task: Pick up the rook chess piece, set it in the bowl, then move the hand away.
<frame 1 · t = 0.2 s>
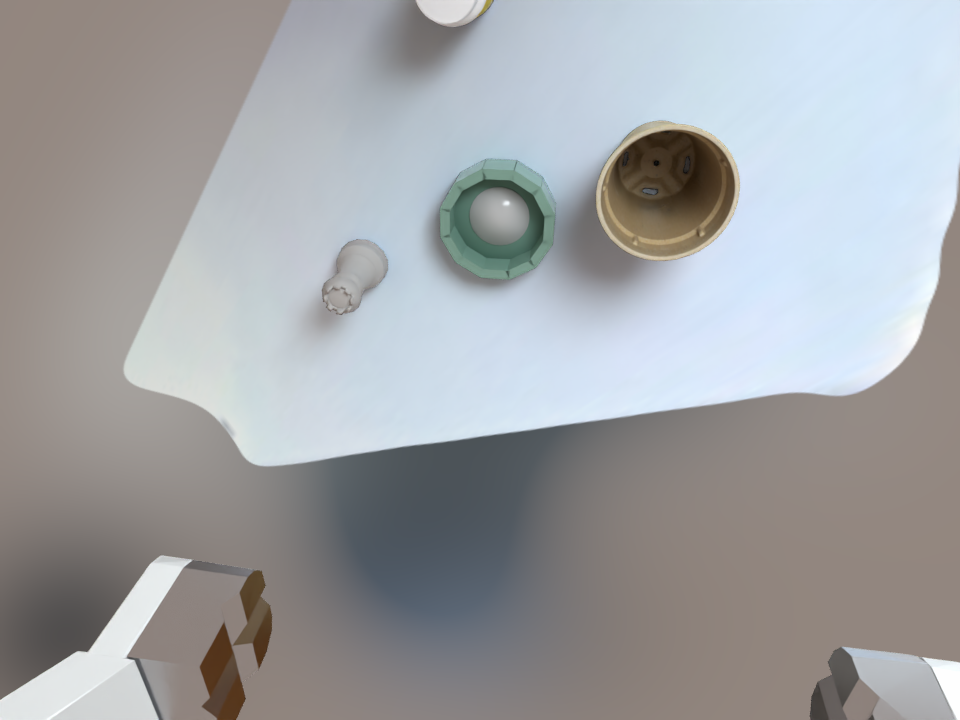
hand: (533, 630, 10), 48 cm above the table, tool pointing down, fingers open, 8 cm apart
rook chess piece: (365, 259, 61), on the table
bowl: (500, 214, 56), on the table
flower pot: (654, 160, 53), on the table
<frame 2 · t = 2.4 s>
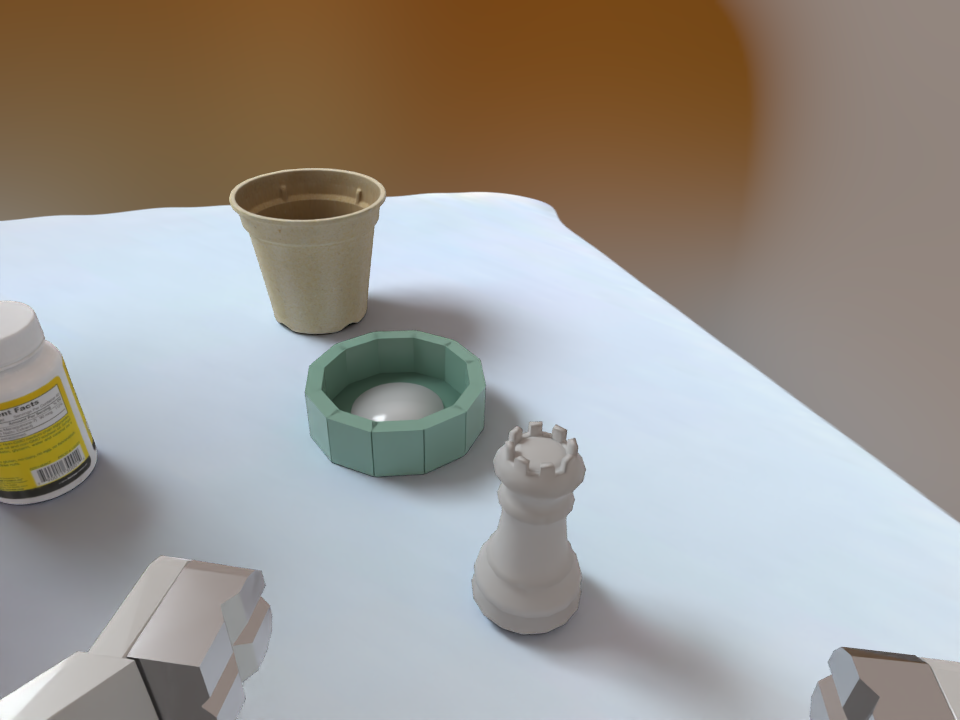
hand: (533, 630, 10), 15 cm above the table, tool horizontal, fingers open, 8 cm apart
supplement bottle: (46, 475, 33), on the table
rook chess piece: (524, 596, 28), on the table
bowl: (398, 417, 37), on the table
flower pot: (322, 316, 46), on the table
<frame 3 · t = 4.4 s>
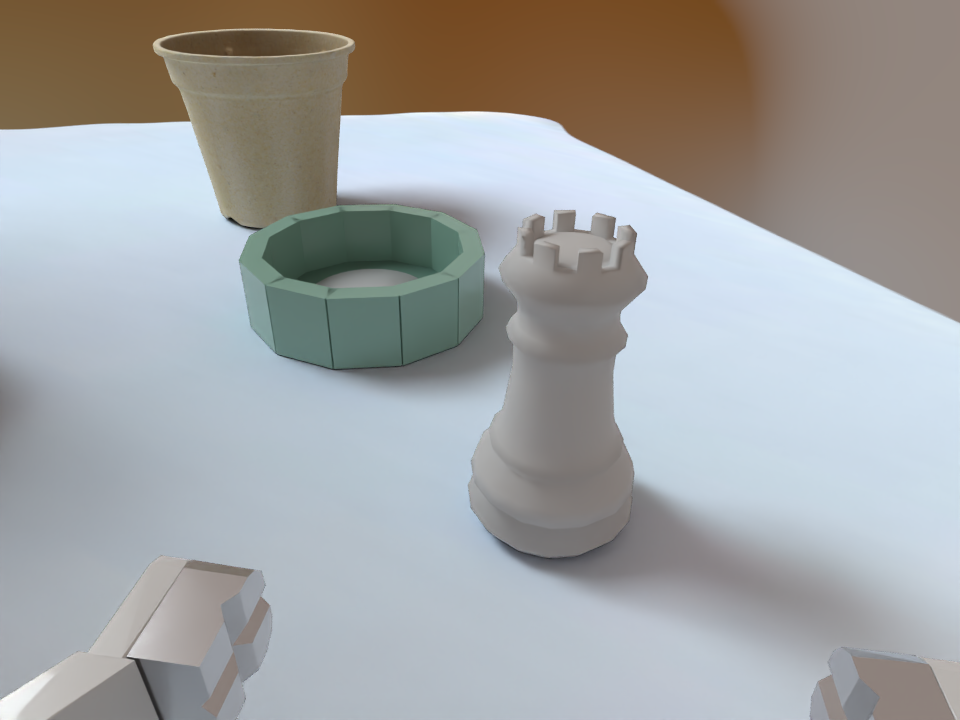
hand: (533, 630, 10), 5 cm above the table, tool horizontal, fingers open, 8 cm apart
rook chess piece: (547, 509, 19), on the table
bowl: (369, 307, 28), on the table
flower pot: (281, 214, 38), on the table
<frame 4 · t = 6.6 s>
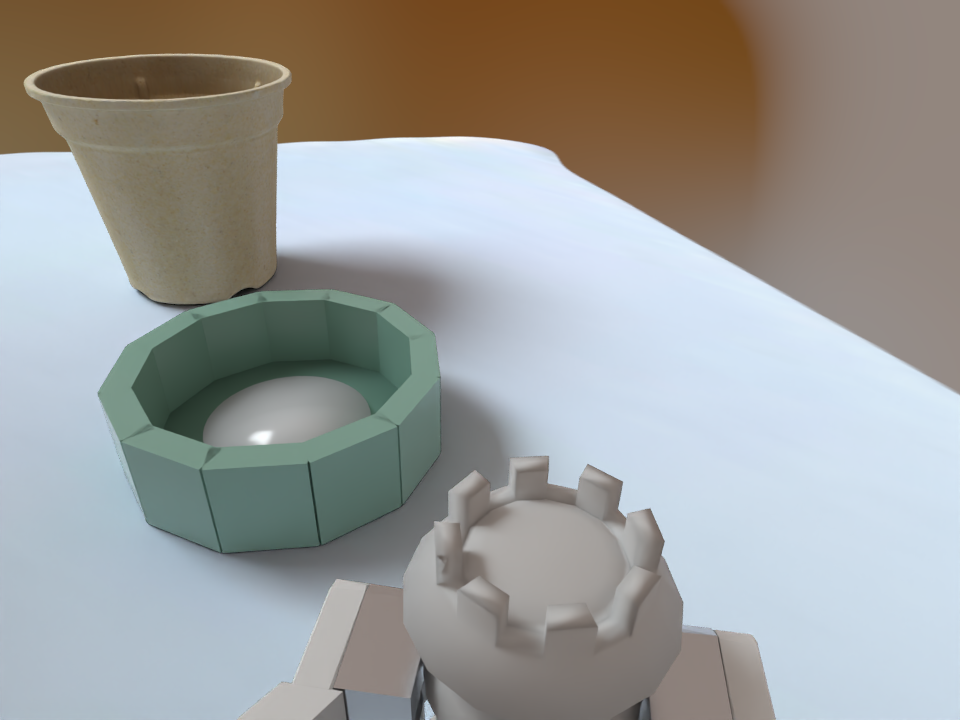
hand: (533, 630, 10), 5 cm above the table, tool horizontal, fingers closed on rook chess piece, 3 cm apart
bowl: (291, 436, 21), on the table
flower pot: (208, 280, 31), on the table
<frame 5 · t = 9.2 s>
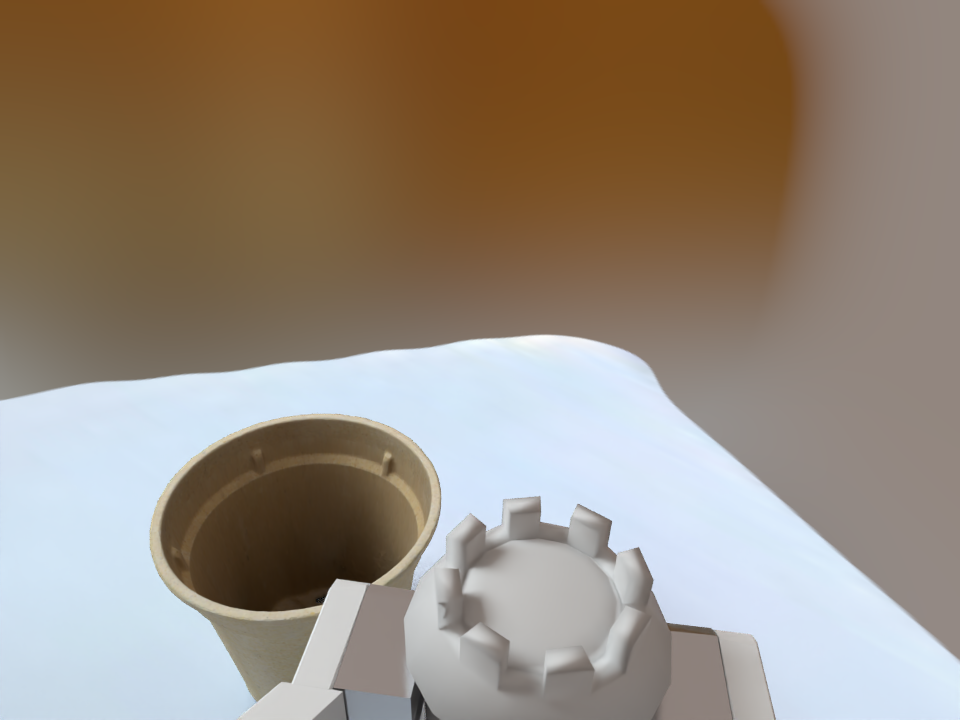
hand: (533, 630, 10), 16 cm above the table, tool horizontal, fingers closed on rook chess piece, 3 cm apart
flower pot: (326, 656, 27), on the table
when the fingers open (6 cm above the table, at t = 11.6 s): rook chess piece moves 1 cm, resting on bowl.
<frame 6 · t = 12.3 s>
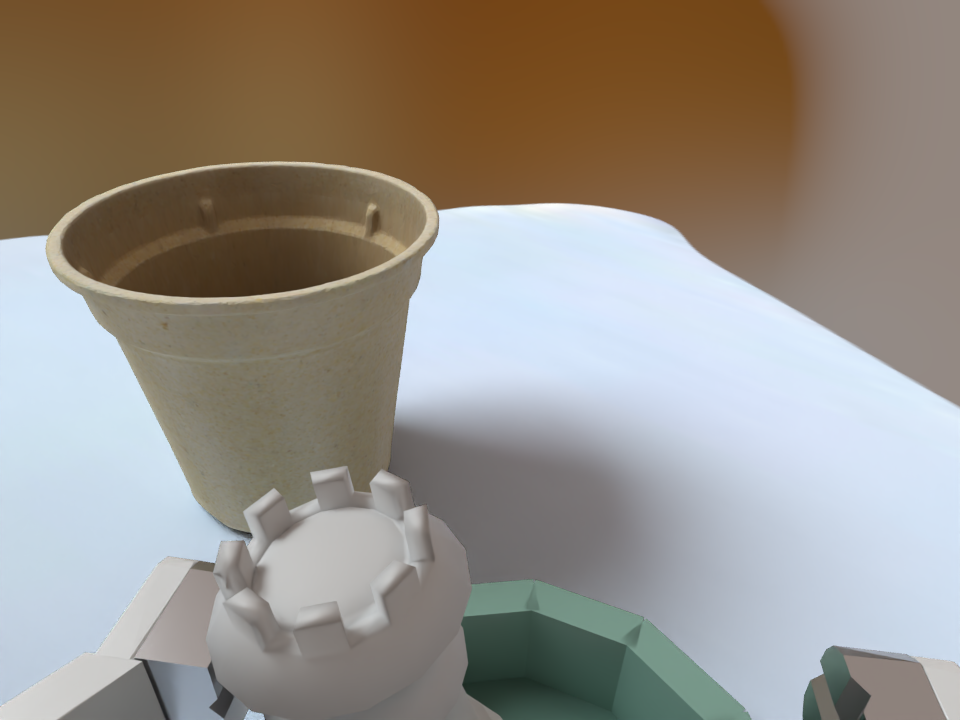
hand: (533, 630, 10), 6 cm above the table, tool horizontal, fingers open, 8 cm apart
flower pot: (296, 473, 22), on the table
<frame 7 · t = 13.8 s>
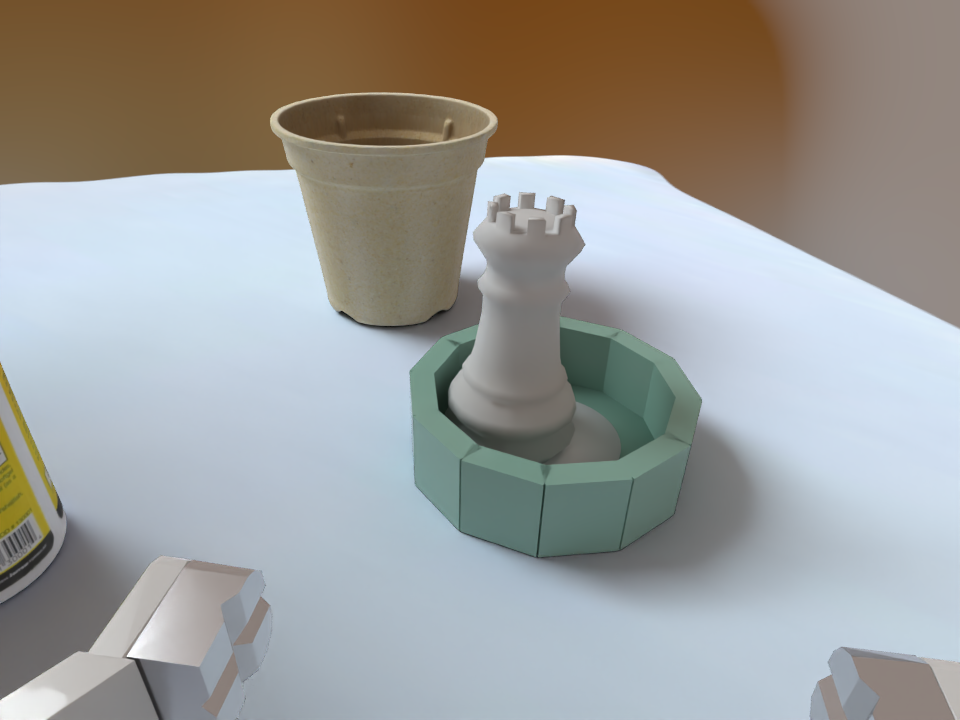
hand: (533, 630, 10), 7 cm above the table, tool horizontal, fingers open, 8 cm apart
rook chess piece: (507, 437, 23), point 1 cm above the table, touching bowl
bowl: (545, 451, 23), on the table
flower pot: (394, 302, 33), on the table
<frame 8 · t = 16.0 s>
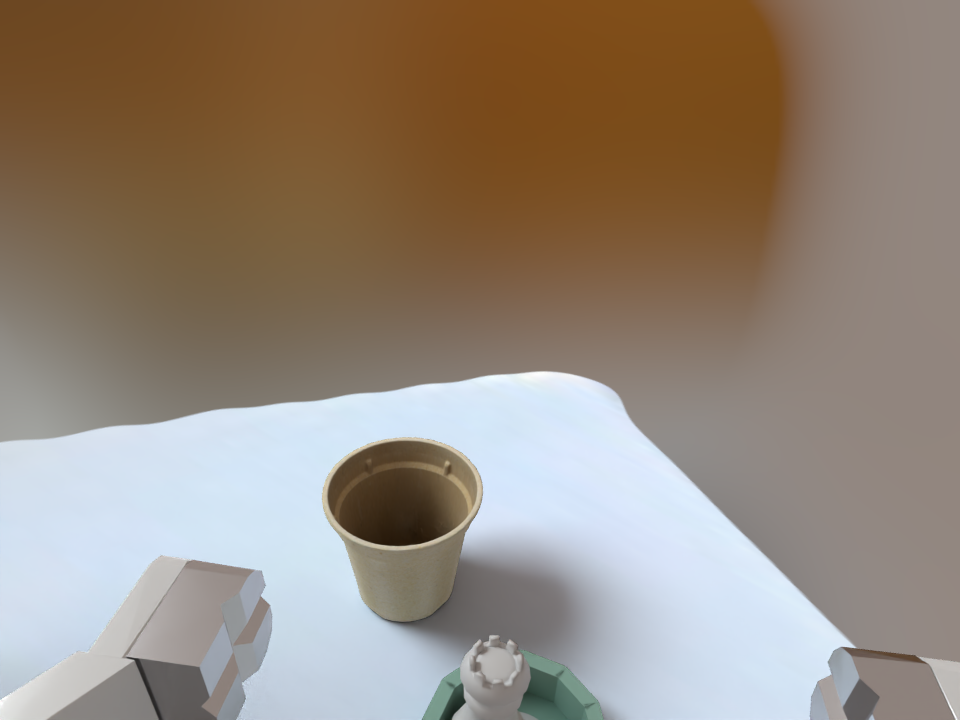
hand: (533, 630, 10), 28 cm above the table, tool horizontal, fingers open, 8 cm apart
flower pot: (407, 586, 45), on the table
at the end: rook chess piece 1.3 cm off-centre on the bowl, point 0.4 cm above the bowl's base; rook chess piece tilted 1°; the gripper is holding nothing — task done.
